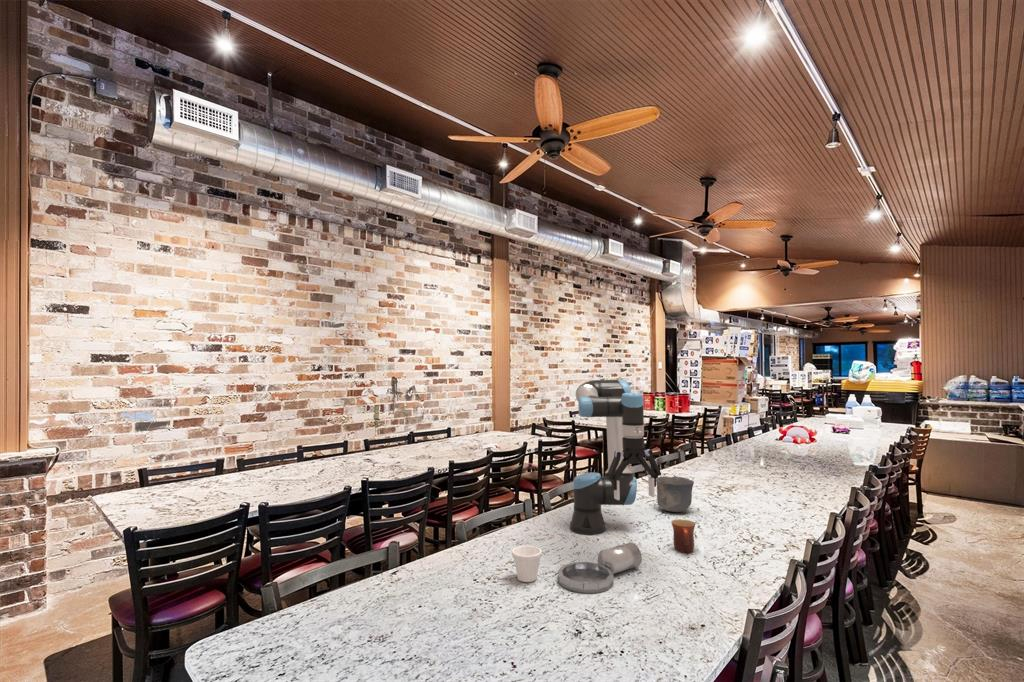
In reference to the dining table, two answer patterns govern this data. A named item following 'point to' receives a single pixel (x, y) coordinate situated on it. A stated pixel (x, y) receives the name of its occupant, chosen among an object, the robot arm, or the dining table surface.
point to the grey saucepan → (599, 570)
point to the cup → (527, 562)
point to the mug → (683, 535)
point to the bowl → (674, 493)
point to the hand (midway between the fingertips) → (634, 497)
